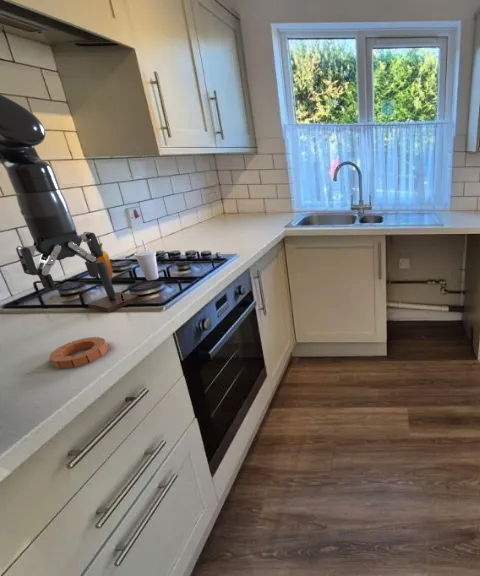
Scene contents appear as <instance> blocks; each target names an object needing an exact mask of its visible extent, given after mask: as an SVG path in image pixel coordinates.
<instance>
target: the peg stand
mask: <svg viewBox="0 0 480 576" xmlns="http://www.w3.org/2000/svg"><path fill="white" fill-rule="evenodd" d="M96 264H97V267H98V270H99V274H100V275H99V274H98V275H99V277H100V280H101V282H102V286H103V288H104V291H105V294H106V296H104V297H101V298H98V299H96V300H93V301H91V302H88V303H87V306H88V308H89V309H92V310H97V311H102V312H107V313H111V312H113V311H116V310H118V309H120V308H123V307H125V306H127V305H130V304H132V303H135V302H137V301H139V296H138V295H137V294H131V293H126V292H120V291H117V292H115V289H114V286H113V282H112V279H111V280H110V277H109V274H108V271H107V268H106V266H105V263H104V261H98V262H96ZM121 294H122V295H123V299H124V301H122V299H121ZM123 302H124V303H123Z"/></svg>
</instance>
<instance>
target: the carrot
mask: <svg viewBox="0 0 480 576" xmlns="http://www.w3.org/2000/svg"><path fill="white" fill-rule="evenodd" d="M99 245H100V248H101V249H102V246H103V242H99ZM102 252H103V256H102V257H99V258H97V259H96V262H98V261H104V263H105V266H106V268H107V271H108V274H109V277H110V280H111V281H112V278H113V268H112V264H111V263H112V262H111V261H110V257H109V253H107V252H106V251H105V250H102ZM98 276H100V274H98Z"/></svg>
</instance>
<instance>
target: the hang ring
mask: <svg viewBox="0 0 480 576" xmlns="http://www.w3.org/2000/svg"><path fill="white" fill-rule="evenodd" d="M86 349H88V350H86ZM82 350H86V351H84V352H81V353H77V354H74V353H76V352H80V351H82ZM106 352H108V344H107V341H106V339H105V338H103V337H99V336H91V337H85V338H84V337H83V338H80V339H79V338H78V339H76V340H73V341H70V342H67V343H65V344H63V345H61V346H59V347H57V348H55V349H54V350H53V351H52V352H51V353H50V354H49V361H50V363H51V366H52V367H53V368H57V369H59V370H60V369H61V370H62V369H63V370H64V369H72V368H77V367H80V366H84V365H86V364H89V363H91V362H94V361H96V360H97V359H99V358H101V357H103V356H104V354H106ZM72 354H74V355H72Z"/></svg>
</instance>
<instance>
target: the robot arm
mask: <svg viewBox="0 0 480 576" xmlns="http://www.w3.org/2000/svg"><path fill="white" fill-rule="evenodd" d="M45 138H46V129H45V127H44V125H43V123H42V122H41V120H40V119H39V118H38V117H37V116H36V115H35V114H34V113H33V112H32V111H30V110H29V109H27V108H26V107H24V106H22V105H20V104H19V103H17V102H16V101H14V100H12V99H10V98H9V97H6V96H5V95H3V94H1V93H0V164H1V165H2V166H3V168H4V169H5V171H6V174H7V176H8V177H7V178H8V179H9V182H10V184H11V186H12V189H13V192H14V193H15V197H16V202H17V204H18V207H19V211H20V214H21V215H22V217H23V219H24V222H25V224H26V226H27V229H28V231H29V233H30V236H31V238H32V240H33V244H31V245H26V246H21V245H18V246H16V247H15V250H16V254H17V256H18V259H19V262H20V265H21V268H22V271H23V273H24V274H26V275H30V276H37V277H38V278H39V280H40V283H41V286H42V287H43V288H44V289H46V290H48V291H52V292H54V291H56V290H58V289H57V286H56V284H55V281H54V279H53V276H52V273H50V271H51V269H52V267H53V266H54V265H55V263H56V261H62V260H65V259H67V258H73V257H76V256H77V257H79V258H81V259H83V260H84V265H85V267H86V270H87V273H88V275H89V276H90V277H91V278H98V277H99V270H98V267H97V264H96V259H97V258H99V257H102V256H103V252H102V251H103V250H102V247H101V248H100V245H99V244H100V242H99V241H98V238H97V236H96V234H95V232H90V231H84V232H82V233H81V234H79V233H78V232H77V227H76V225H75V222H74V219H73V216H72V214H71V211H70V209H69V206H68V203H67V200H66V198H65V196H64V194H63V192H62V191H61V189H60V185H59V182H58V179H57V178H56V174H55V172H54V169H53V168H52V166H51V164H49V163H48V162H47V161H45V160H43V159H42V158H41V157H40V155H39V154H38V152H37V150H36V146H39V145H40V144H42V143H43V142H44V141H45ZM82 241H83V242H84V243H86V245H87V247H88V249H89V252H88V251H87V250H86V249H84V248H83V247H81V244H82ZM35 252H38V253H40V256H39V259H38V261H37V262H38V264H37V266H36V264H35V259H34V258H33V257H34V256H35Z"/></svg>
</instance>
